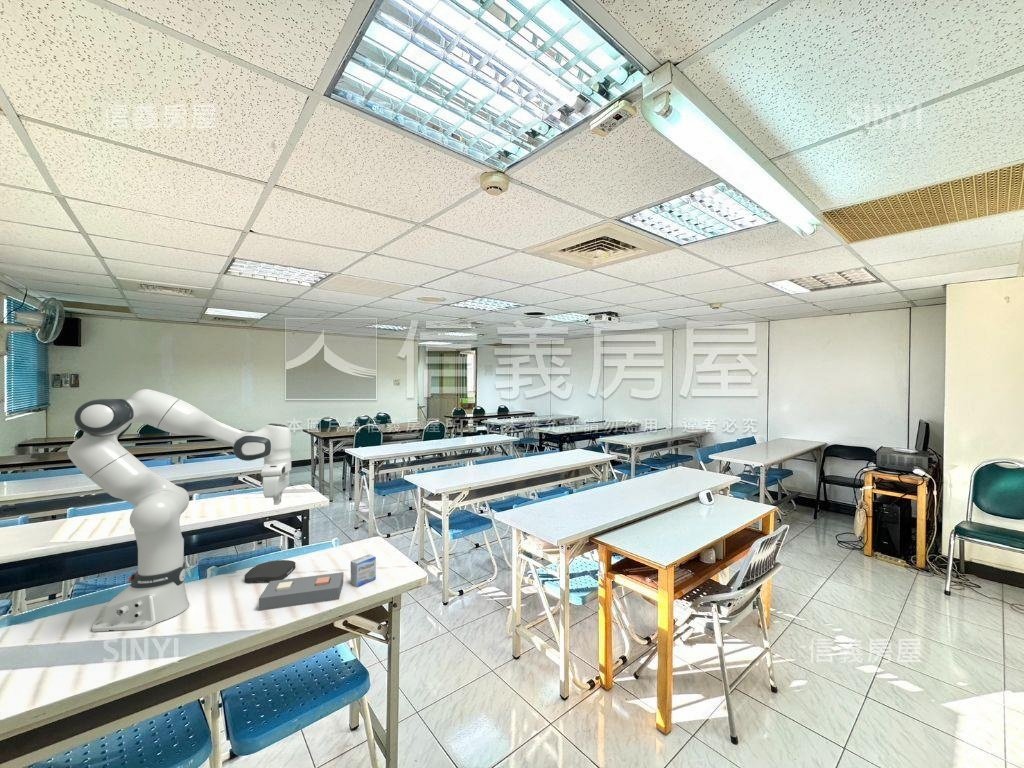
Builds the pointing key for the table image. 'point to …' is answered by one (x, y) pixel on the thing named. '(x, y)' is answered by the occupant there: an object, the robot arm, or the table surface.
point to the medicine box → (363, 570)
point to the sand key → (284, 586)
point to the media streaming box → (270, 571)
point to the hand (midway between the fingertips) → (277, 503)
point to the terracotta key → (323, 581)
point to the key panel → (301, 592)
